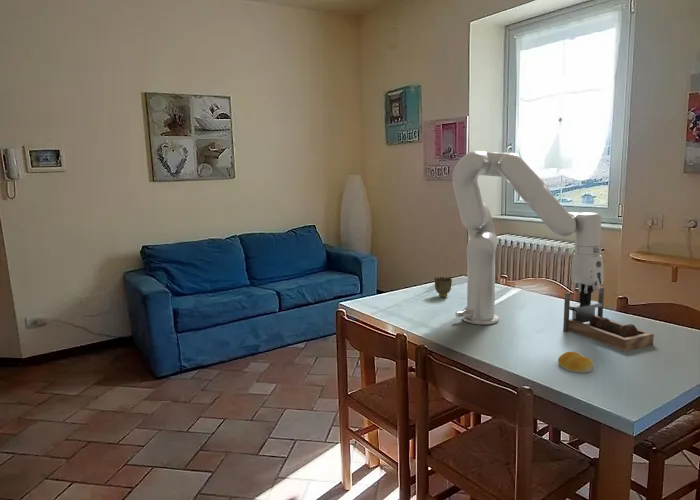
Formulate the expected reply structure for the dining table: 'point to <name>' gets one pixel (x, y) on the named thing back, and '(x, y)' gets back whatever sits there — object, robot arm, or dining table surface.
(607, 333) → the cradle
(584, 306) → the gate
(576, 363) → the bread roll
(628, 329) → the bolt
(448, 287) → the cup
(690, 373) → the dining table surface
